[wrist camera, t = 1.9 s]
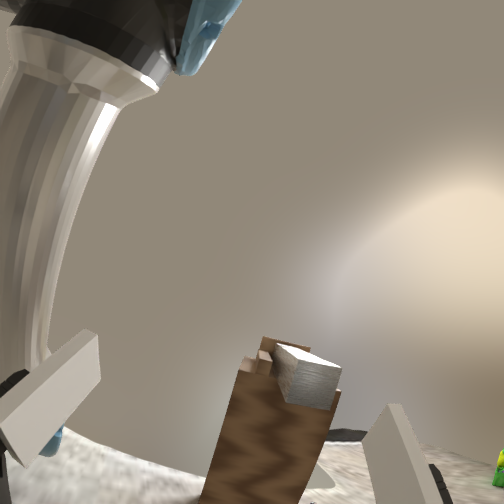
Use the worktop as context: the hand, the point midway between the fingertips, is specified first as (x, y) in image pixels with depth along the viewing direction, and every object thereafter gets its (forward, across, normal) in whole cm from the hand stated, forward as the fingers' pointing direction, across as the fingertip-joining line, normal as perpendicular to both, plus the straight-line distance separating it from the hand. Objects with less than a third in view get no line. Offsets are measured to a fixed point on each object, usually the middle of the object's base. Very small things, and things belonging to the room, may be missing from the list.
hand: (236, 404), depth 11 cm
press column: (+9, +6, -41) cm, 42 cm away
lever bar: (+18, +6, -12) cm, 22 cm away
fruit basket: (+13, +83, -45) cm, 95 cm away
